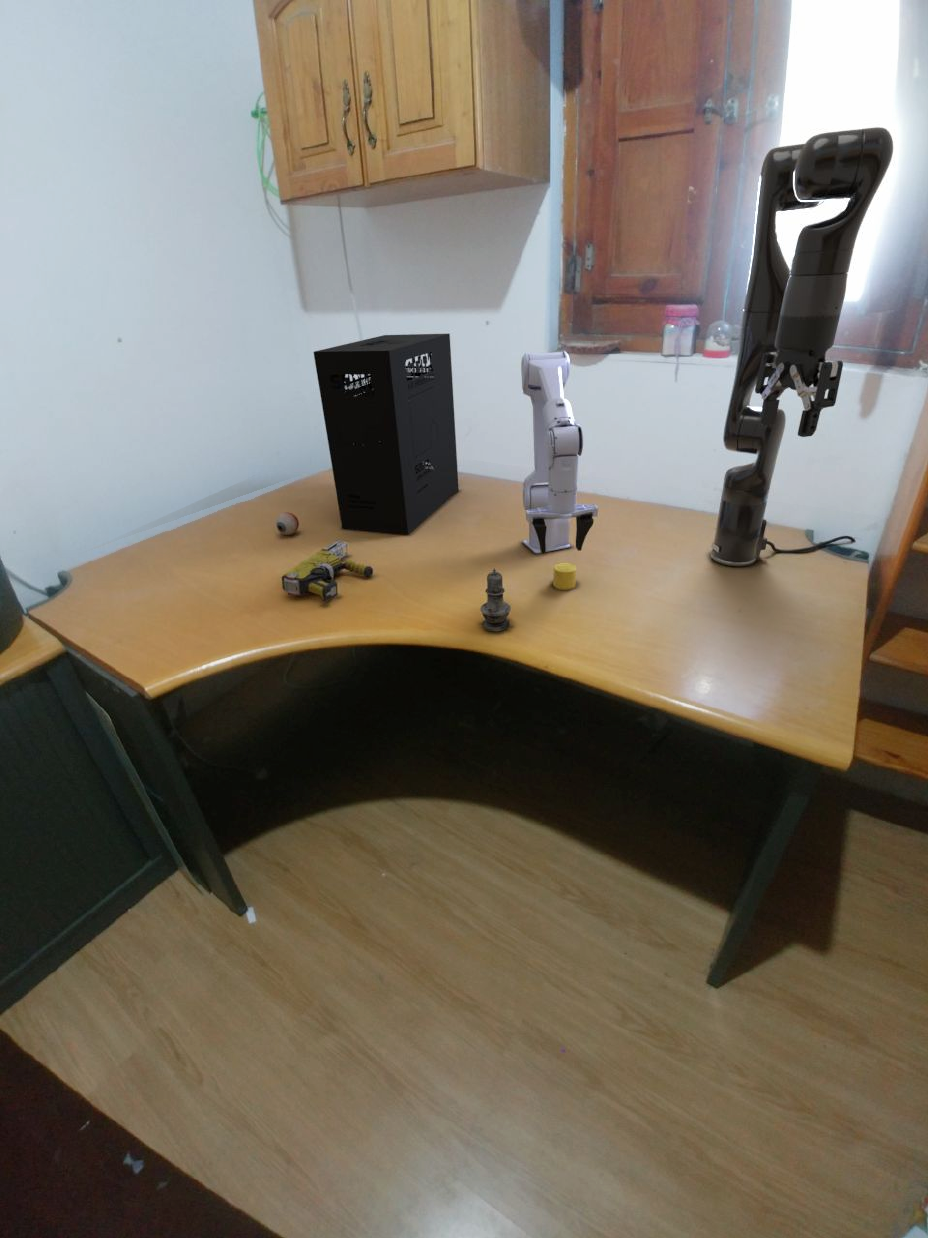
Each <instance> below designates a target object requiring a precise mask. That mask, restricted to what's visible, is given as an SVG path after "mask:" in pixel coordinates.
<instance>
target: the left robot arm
mask: <svg viewBox="0 0 928 1238" xmlns="http://www.w3.org/2000/svg"><path fill="white" fill-rule="evenodd" d="M569 355H570V354H568V352H567V351H565V350H562V351H558V352H555V351H554V352H539V353H524V354H523V355H522V357H521V364H520V365H521V366H520V367H521V368H520V369H521V370H520V371H521V390H522V393H523V395H525V396H528V397H529V398H530V402H531V405H532V427H533V429H532V431H533V460H534V461H533V462H534V464H533V465H534V470H533V471H531V473H529V474H528V475H527V476H526V477H525V478H524V480H523V483H522V485H523V487H522V505H523V509H524V511H525V520H526V522H527V523H528V539H524V540H523V541H522V543H523V544H524V545H525V546H526V547H527V548H528V549H530V550H531V551H532V552H533V553H534V554H537V555H538V554H542V555H545V554H546V553H548V552H552V551H558V550H564V549H568V548H571V544H570V535H571V534H570V533H571V532H570V531H571V518H575V523H576V524H575V525H576V534H575V548H576V550H577V551H578V552H579V551H582V549H583V545H584V542H585V539H586V537H587V535H588V533H589V531H590V530H591V528H592V527H593V525H594V520H595V519H594V518H595V517H596V518H597V517H598V516H599V507H598V506H597V505H596V504H577V503H578V502H577V501H578V479H579V478H578V477H579V457H581V456H582V454H583V451H584V450H583V448H584V435H583V429H582V428H583V427H582V426H581V424H579V422H577V421H576V420H575V417H574V412H573V408H572V404H571V402H570V401H569V400H568V399H567V398H565V394H564V388H565V387H566V385H567V381H568V379H569V377H570V369H571V367H570V366H571V365H570V361H571V360H570V356H569ZM545 483H546V484H545Z"/></svg>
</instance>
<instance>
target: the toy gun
mask: <svg viewBox="0 0 928 1238" xmlns="http://www.w3.org/2000/svg"><path fill="white" fill-rule="evenodd" d="M345 548H348V543H347V542H346V541H343V540H342V541H341V540H339V539H338V540H335V541H334V542H333V543H331V544H330V545H327V546H326V547H325V548H321V549H320V550H318V551H317V552H316V553H314V554H312V555H311V556H310V557H307V559H305V560H304V561H302V562H300V563H299V564H298V565H296V566H294V567H293V568H291V569H290V570H288V571H287V572H285V573H284V574H282V576H281V585H282V586H281V587H282V590H283V591H284V592H285V593H287V596H292V597H295V596H302V597H303V596H307V595H310V594H315V595H318V596H320V597H322V601H323V602H325V603H327V602H328V601H330V600H332V599H333V598H335V597H337V596H338V594H339V593H338V582H337V581H336V580H334V578H335V577H334V575H336V574H337V573H340V572H342V571H343V570H346V571H349V572H353V573H355V574H358V575H361V576H364V577H366V578H370V577H372V576H373V575H374V569H373V567H372V566H370V565H365V564H361V563H359V562H357V561H352V560H349V559H347V560H345V561H344V562H342V560H343V558H344V557H347V556H348V554H349V553H348V549H346V552H344V549H345Z"/></svg>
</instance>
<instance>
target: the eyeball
mask: <svg viewBox="0 0 928 1238" xmlns="http://www.w3.org/2000/svg"><path fill="white" fill-rule="evenodd" d="M299 525H300V522H299V519H298V517H297V516H296V515H295V514H294V513H292V512H287V511H286V512H282V513H280V514H279V515H278V516H277V517H276V520H275V527H276V529H277V530H278V531H279V532H280V533H281V534H282V535H285V536H286V535H287V536H289V535H293V534H295V533H296V532H297V531H298V529H299Z"/></svg>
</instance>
